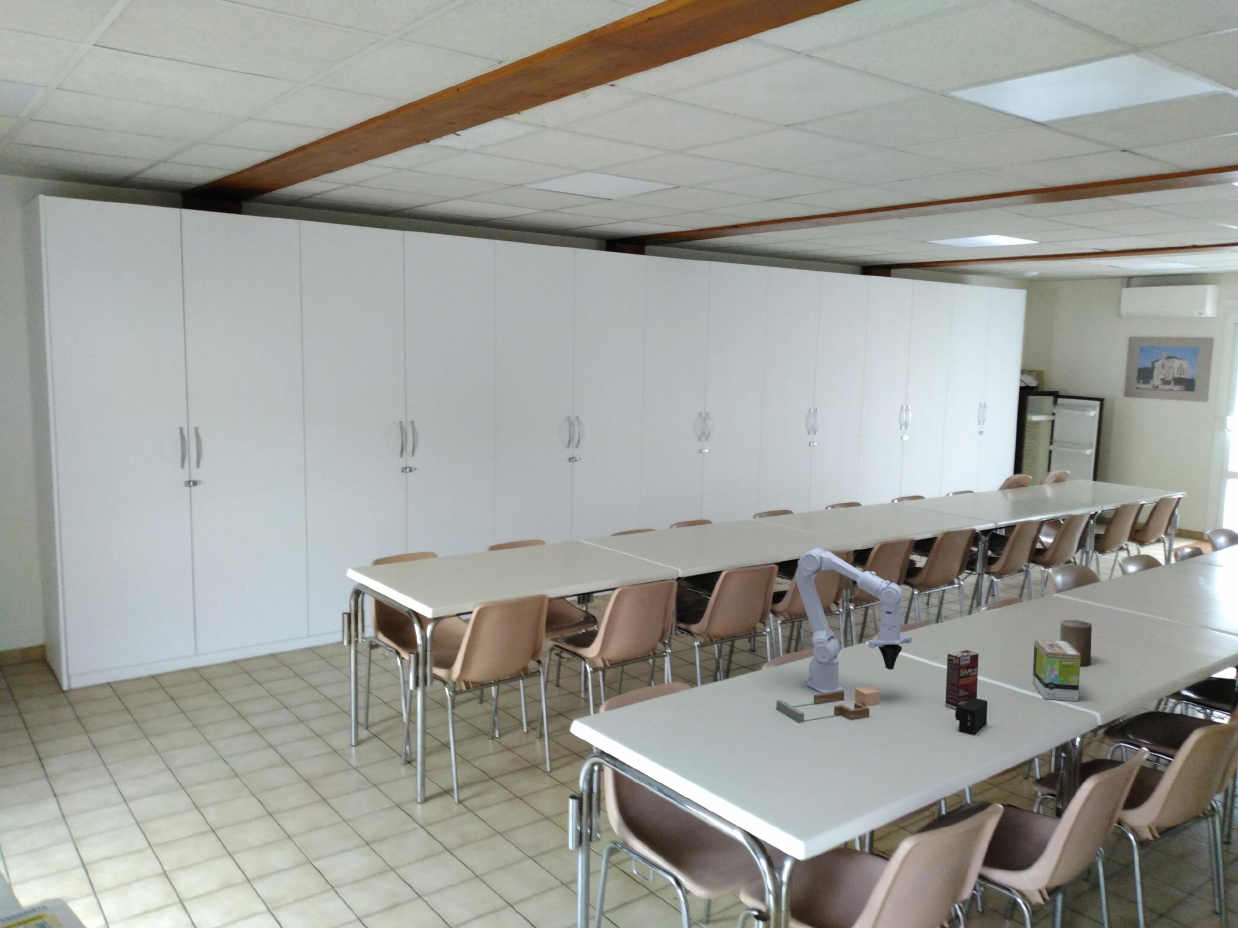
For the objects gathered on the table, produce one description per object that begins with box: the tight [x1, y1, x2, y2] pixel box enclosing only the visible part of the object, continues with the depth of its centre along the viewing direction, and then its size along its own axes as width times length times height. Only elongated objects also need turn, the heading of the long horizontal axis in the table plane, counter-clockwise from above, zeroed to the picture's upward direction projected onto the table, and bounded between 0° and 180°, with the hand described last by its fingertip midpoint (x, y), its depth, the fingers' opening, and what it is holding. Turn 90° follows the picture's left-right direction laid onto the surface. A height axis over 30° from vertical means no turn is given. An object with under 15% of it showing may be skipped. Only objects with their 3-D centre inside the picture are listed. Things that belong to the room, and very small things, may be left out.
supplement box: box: [944, 649, 979, 711], centre depth 267 cm, size 9×5×16 cm, turn 120°
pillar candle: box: [1059, 619, 1093, 667], centre depth 308 cm, size 10×10×15 cm
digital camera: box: [954, 697, 988, 736], centre depth 250 cm, size 10×5×7 cm, turn 141°
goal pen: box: [776, 699, 836, 723], centre depth 262 cm, size 12×12×2 cm
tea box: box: [1032, 639, 1081, 702], centre depth 278 cm, size 15×10×15 cm
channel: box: [813, 690, 870, 721], centre depth 265 cm, size 16×10×2 cm, turn 22°
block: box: [854, 686, 880, 707], centre depth 270 cm, size 5×5×4 cm
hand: (889, 668), depth 273 cm, fingers closed
